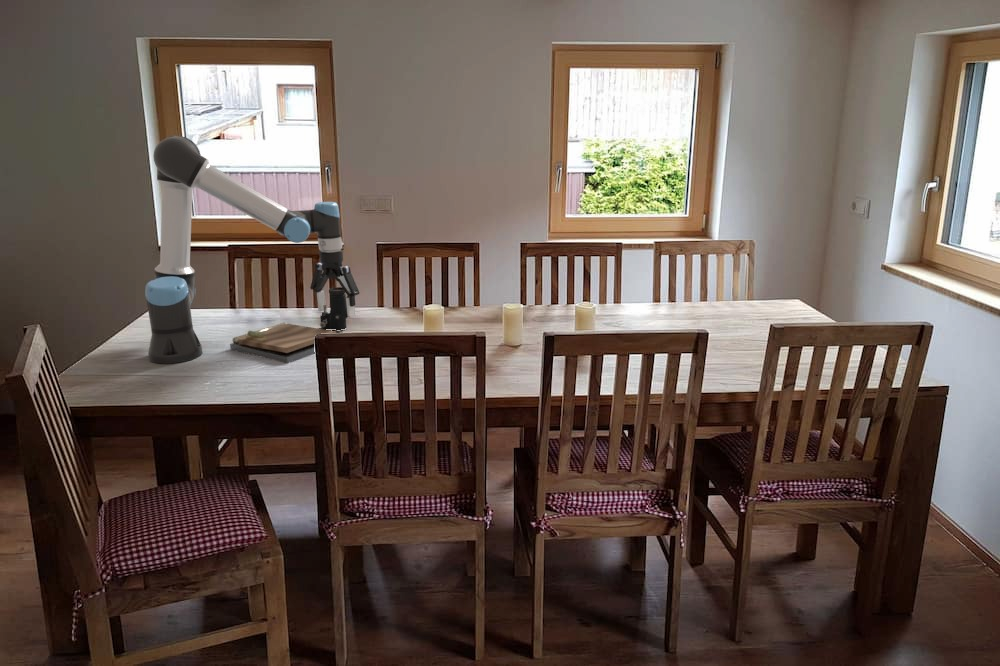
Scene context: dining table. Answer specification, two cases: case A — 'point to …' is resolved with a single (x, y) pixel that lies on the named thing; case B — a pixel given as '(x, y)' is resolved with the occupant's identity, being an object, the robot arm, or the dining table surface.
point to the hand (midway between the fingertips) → (336, 313)
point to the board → (283, 338)
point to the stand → (271, 353)
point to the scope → (335, 310)
